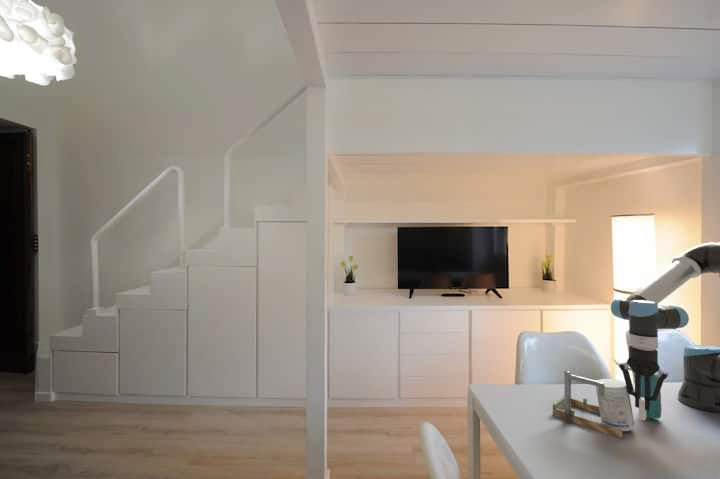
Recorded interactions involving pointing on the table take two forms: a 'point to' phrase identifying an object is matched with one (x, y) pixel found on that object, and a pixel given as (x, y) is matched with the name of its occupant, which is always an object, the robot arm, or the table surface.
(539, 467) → the table surface
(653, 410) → the beverage bottle
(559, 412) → the bay board
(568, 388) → the hook post
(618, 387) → the supplement tub
